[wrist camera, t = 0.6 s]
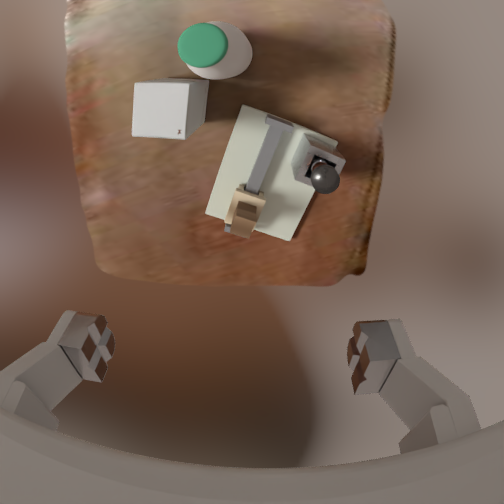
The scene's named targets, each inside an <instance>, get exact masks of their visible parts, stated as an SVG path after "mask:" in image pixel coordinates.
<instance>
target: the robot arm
mask: <svg viewBox="0 0 504 504" xmlns="http://www.w3.org/2000/svg"><path fill="white" fill-rule="evenodd" d="M107 323H108V322H107V320H106V318H105V316H103V315H99V314H91V313H85V312H76V311H69V310H67V311H66V312H64V313H63V315H62V317H61V318H60V320H59V321H58V323H57V325H56V326H55V328H54V330H53V331H52V334H51V335H50V337H49V338H48V340H47V342H46V343H45V342H43V343H41V344H39V345H38V346H37V347H35V348H34V349H32V350H31V351H29V352H28V353H26V354H25V355H24V356H22V357H21V358H19V359H18V360H16V361H15V362H13V363H12V364H11V365H9V366H8V367H6V368H5V369H4V370H2V371H1V372H0V504H504V420H503V421H501V422H498V423H496V424H494V425H491V426H489V427H487V428H484V429H481V427H480V424H479V421H478V418H477V416H476V413H475V410H474V407H473V405H472V402H471V399H470V396H469V395H467V394H466V393H465V392H464V391H462V390H461V389H460V388H459V387H458V386H456V385H455V384H454V383H452V382H451V381H450V380H449V379H448V378H446V377H445V376H444V375H443V374H442V373H440V372H439V371H438V370H437V369H435V368H434V367H433V366H432V365H430V364H429V363H428V362H427V361H426V360H424V359H423V358H422V357H417V356H416V354H415V351H414V349H413V346H412V344H411V341H410V339H409V337H408V334H407V332H406V329H405V327H404V325H403V322H402V321H401V320H400V319H390V320H375V321H359V322H356V323H355V324H354V327H353V334H354V336H353V337H352V338H351V339H350V340H349V343H348V347H347V361H348V366H349V367H350V368H351V369H352V370H353V371H354V372H353V374H352V377H351V380H352V385H353V390H354V395H359V394H371V393H379V395H380V396H381V397H382V398H383V400H384V401H385V402H386V403H387V404H388V405H389V406H390V408H391V409H392V410H393V411H394V412H395V413H396V414H397V415H398V416H399V418H400V419H401V420H402V421H403V422H404V423H405V425H406V426H407V427H408V428H409V429H410V432H409V433H408V434H407V435H406V436H405V437H404V438H403V439H402V440H401V441H400V442H399V447H400V453H401V454H399V455H394V456H389V457H384V458H379V459H373V460H367V461H361V462H354V463H346V464H338V465H328V466H318V467H303V468H267V469H266V468H265V469H264V468H233V467H232V468H231V467H218V466H207V465H197V464H189V463H181V462H175V461H168V460H162V459H156V458H151V457H146V456H141V455H136V454H132V453H127V452H123V451H119V450H115V449H111V448H107V447H103V446H100V445H96V444H93V443H89V442H86V441H83V440H80V439H77V438H74V437H71V436H68V435H65V434H62V433H60V432H57V431H56V430H57V427H58V424H59V421H58V418H57V417H55V416H54V415H53V414H52V413H51V412H50V411H51V410H52V409H53V408H54V407H55V406H56V405H57V404H58V403H59V402H60V401H61V400H62V399H63V398H64V397H65V396H66V395H67V394H69V393H70V392H71V390H73V389H74V388H75V387H76V386H77V385H78V384H79V383H80V382H81V381H82V379H86V380H91V381H97V382H102V381H103V379H104V376H105V373H106V371H107V368H108V366H107V363H106V361H108V360H109V359H111V358H112V356H113V353H114V350H115V339H114V336H113V333H112V332H111V331H110V330H109V329H108V328H107V327H106V325H107Z"/></svg>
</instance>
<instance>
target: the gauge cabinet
mask: <svg viewBox="0 0 504 504" xmlns="http://www.w3.org/2000/svg"><path fill="white" fill-rule="evenodd" d="M314 155H317V156H319V157H321V158H324V160H325V161H326V163H327V165H330V166H332V167H333V168H335V170H336V171H337V173H338V174H340V172H341V170H342V168H343V166H344V164H345V162H346V160H345V159H344V157H343V156H342V155H341V154H340V152H339V151H338V150H337V149H336V147H335V146H333V145H331V144H328V143H326V142H324V141H322V140H319V139H317V138H315V137H312V136H310V135H307V134H305V133H303V136H302V138H301V140H300V142H299V145H298V147H297V149H296V151H295V154H294V156H293V158H292V161H291V167H292V171H293V175H294V179H295V180H296V181H299V182H301V183H304V184H307V185H309V186H312V183H311V173H312V171H311V168H310V166H309V165H310V163H311V161H312V159H313V157H314ZM312 187H313V186H312ZM329 194H330V193H329Z"/></svg>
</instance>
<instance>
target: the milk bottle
mask: <svg viewBox="0 0 504 504" xmlns="http://www.w3.org/2000/svg"><path fill="white" fill-rule="evenodd" d="M178 53H179V55H180V57H181V59H182V60H183V61H184V62H185V63H186V64H187V66H188V67H189V68H190V69H191V70H192V71H193V72H194V73H195V74H197V75H199V76H201V77H203V78H207V79H226V78H230V77H234V76H237V75H239V74H241V73H242V72H244V71H245V70H246V69H247V67H248V66H249V65H250V63H251V60H252V47H251V45H250V43H249V41H248V39H247V38H246V36H245V35H244V33H243V32H242V31H241V30H240V29H238V28H237V27H236V26H234V25H232V24H229V23H226V22H221V21H213V22H208V23H198V24H195V25H192V26H190V27H189V28H187V29H186V30H185V31H184V32H183V33H182V35H181V36H180V38H179V41H178Z"/></svg>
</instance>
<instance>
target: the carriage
mask: <svg viewBox="0 0 504 504" xmlns="http://www.w3.org/2000/svg"><path fill="white" fill-rule="evenodd" d="M265 202H266V198H265V197H264V192H262V191H259V192H258V195H256V194H253V193H250V192H248V191H245V190H244V185H242V184H239V187H238V188H236V190H235V193H234V195H233V198H232V201H231V204H230V206H229V209H228V212H227V215H226V217H225V221H224V222H225V223H228V224H231V228H230V233H233V234H236V235H239V236H242V237H245V238H248V239H249V237H250V235H251V232H253V230H254V228H255V226H256V223H257V221H258V219H259V216H260V214H261V211H262V209H263V207H264V204H265Z"/></svg>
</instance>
